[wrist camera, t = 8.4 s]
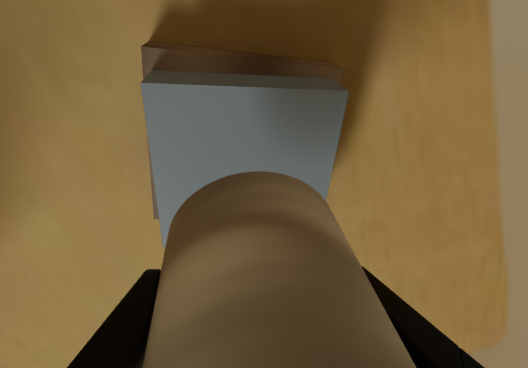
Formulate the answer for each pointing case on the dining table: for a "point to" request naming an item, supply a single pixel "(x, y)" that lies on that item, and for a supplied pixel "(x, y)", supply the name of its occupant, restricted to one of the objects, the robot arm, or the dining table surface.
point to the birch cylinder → (265, 284)
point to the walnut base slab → (228, 68)
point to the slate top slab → (238, 130)
